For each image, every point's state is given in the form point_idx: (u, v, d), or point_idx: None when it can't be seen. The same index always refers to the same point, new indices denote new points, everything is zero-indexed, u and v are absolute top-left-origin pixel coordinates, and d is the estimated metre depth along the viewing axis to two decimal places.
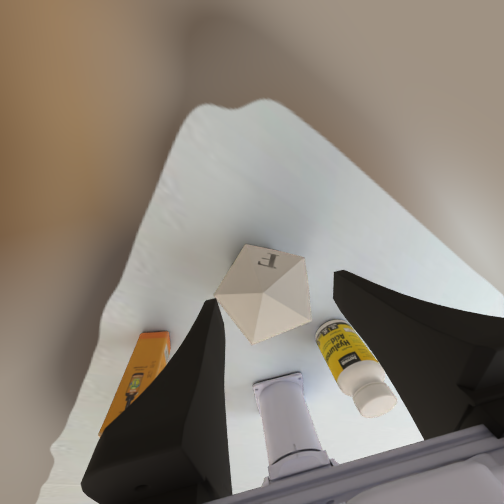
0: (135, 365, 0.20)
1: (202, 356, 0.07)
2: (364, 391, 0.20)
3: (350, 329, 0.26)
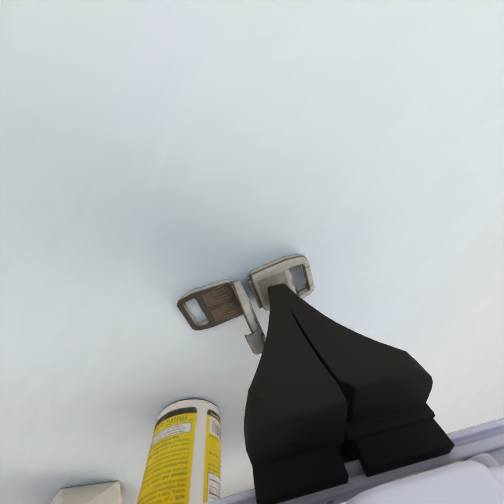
0: None
1: (301, 332, 0.07)
2: None
3: (152, 441, 0.15)
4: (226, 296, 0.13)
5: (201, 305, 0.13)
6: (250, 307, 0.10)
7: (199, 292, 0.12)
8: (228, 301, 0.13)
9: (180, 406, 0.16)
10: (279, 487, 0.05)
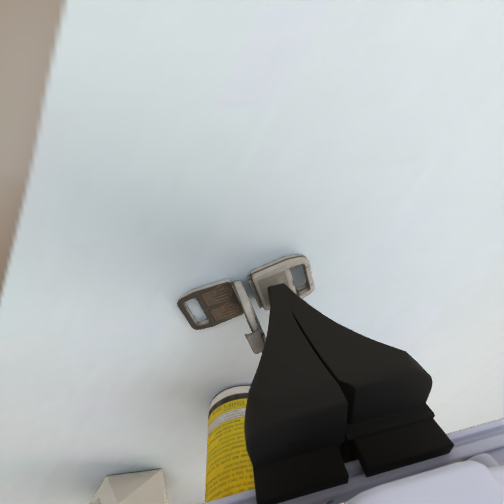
0: None
1: (301, 332, 0.07)
2: None
3: (210, 425, 0.16)
4: (226, 295, 0.13)
5: (201, 304, 0.13)
6: (250, 306, 0.10)
7: (199, 291, 0.12)
8: (228, 300, 0.13)
9: (235, 392, 0.17)
10: (280, 487, 0.05)
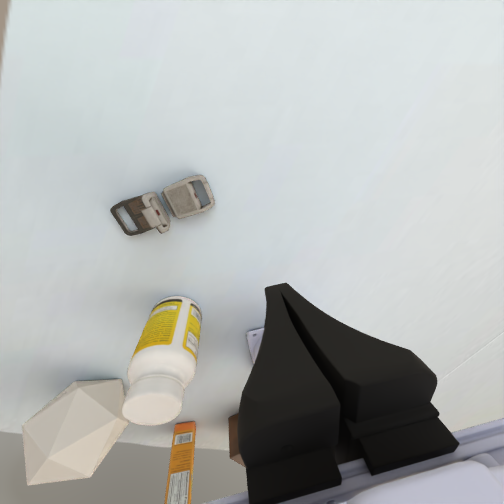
0: None
1: (296, 333, 0.07)
2: None
3: None
4: None
5: (129, 213, 0.17)
6: (148, 195, 0.14)
7: (126, 201, 0.17)
8: None
9: (170, 298, 0.21)
10: (272, 489, 0.05)
